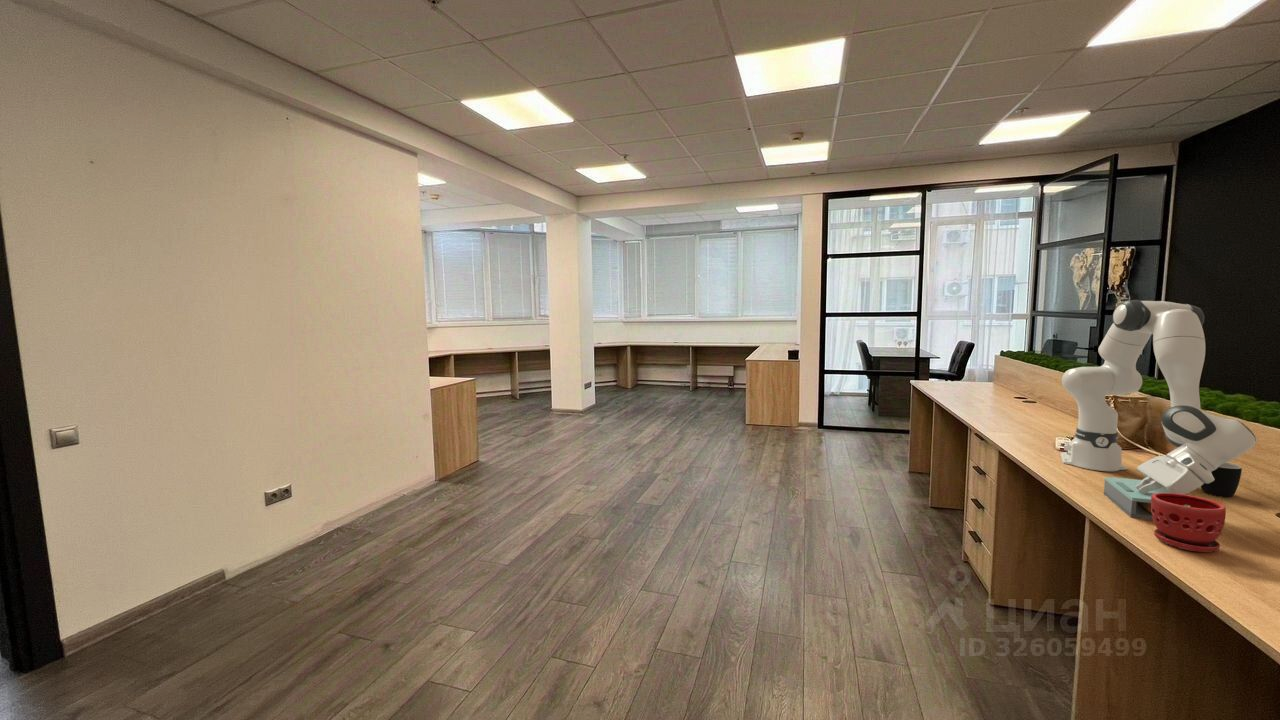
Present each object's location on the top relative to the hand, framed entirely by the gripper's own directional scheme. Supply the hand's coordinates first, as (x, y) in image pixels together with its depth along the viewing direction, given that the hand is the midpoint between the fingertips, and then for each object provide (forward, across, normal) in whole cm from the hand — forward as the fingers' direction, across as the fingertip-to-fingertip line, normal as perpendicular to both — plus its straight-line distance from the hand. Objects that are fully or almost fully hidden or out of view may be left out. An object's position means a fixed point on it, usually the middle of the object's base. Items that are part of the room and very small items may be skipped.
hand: (1139, 490), depth 150 cm
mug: (-16, -30, +25) cm, 42 cm away
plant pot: (+4, +22, +6) cm, 23 cm away
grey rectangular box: (+3, -4, +6) cm, 8 cm away
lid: (-1, -4, +3) cm, 5 cm away
